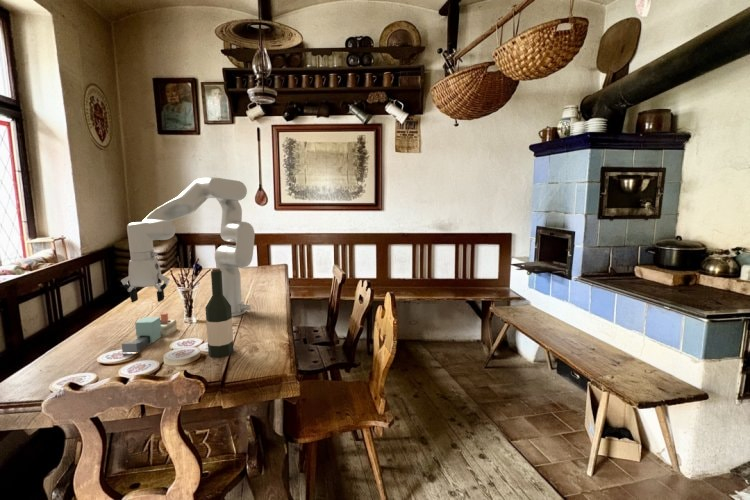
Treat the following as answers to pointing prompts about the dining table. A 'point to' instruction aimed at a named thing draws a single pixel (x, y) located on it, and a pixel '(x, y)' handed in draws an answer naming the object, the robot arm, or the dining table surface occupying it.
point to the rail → (136, 344)
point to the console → (168, 327)
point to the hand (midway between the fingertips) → (147, 301)
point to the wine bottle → (219, 319)
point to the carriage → (149, 328)
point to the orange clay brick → (164, 317)
